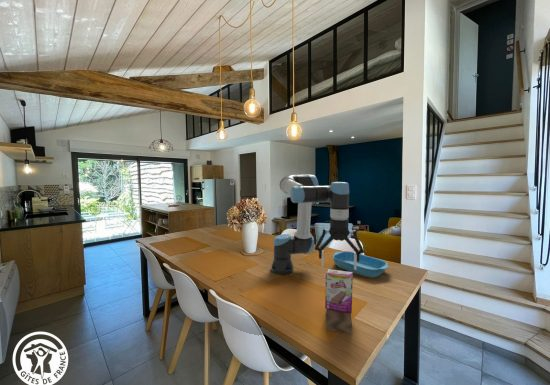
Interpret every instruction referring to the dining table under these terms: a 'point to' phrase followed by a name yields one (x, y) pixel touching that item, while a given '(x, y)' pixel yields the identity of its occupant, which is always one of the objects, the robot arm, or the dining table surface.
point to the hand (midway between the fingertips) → (338, 267)
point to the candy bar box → (339, 290)
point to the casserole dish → (360, 264)
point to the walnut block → (338, 321)
